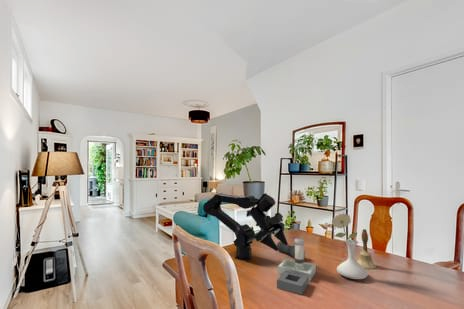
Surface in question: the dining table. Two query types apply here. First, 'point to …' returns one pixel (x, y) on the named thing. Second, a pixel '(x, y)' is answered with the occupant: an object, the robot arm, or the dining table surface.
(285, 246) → the flashlight
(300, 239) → the frosted bulb
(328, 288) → the dining table surface
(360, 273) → the flower in vase
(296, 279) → the socket block
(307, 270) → the parts tray
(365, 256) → the hand bell
